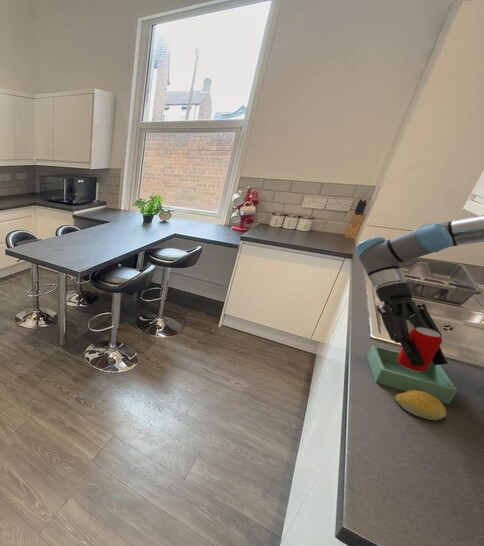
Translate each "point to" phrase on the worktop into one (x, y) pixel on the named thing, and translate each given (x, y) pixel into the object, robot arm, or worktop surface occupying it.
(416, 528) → the worktop surface
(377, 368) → the bin
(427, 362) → the beverage can
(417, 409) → the bread roll
